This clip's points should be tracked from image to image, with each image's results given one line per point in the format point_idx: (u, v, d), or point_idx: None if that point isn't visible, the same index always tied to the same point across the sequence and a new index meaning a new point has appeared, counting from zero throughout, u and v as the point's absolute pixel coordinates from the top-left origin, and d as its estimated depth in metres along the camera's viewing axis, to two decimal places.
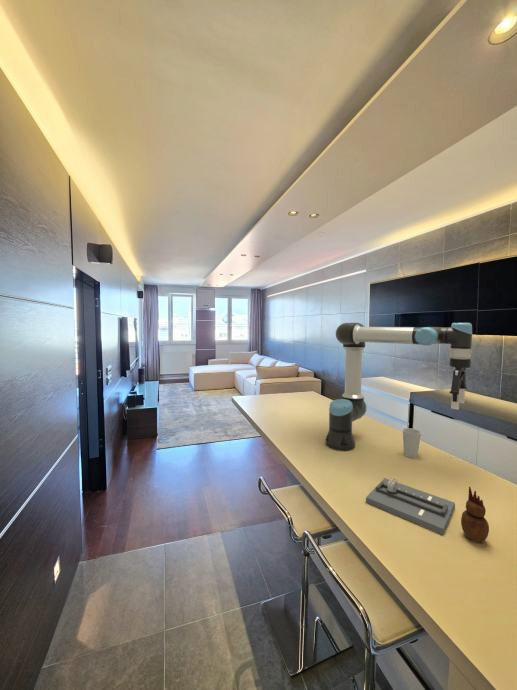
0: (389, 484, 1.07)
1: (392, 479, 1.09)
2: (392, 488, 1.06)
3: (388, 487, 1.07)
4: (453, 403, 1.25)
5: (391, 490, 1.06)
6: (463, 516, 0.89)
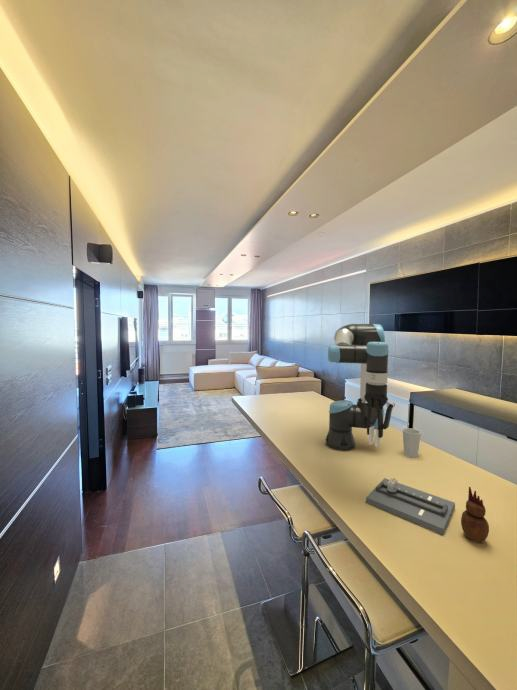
0: (389, 484, 1.07)
1: (392, 479, 1.09)
2: (392, 488, 1.06)
3: (388, 487, 1.07)
4: None
5: (391, 490, 1.06)
6: (463, 516, 0.89)
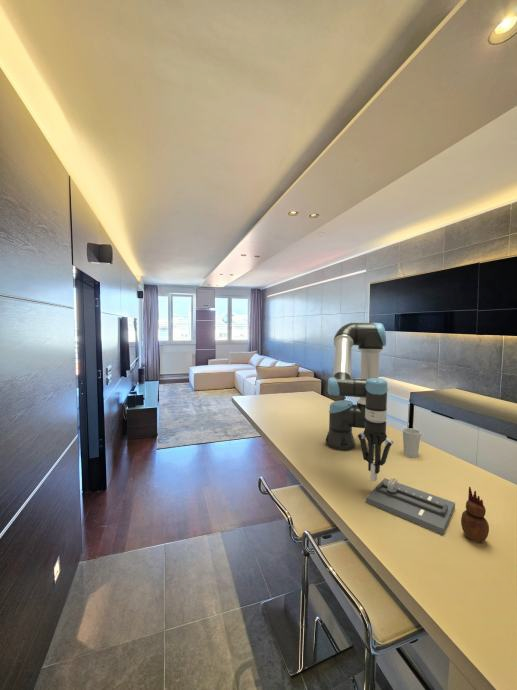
0: (389, 484, 1.07)
1: (392, 479, 1.09)
2: (392, 488, 1.06)
3: (388, 487, 1.07)
4: None
5: (391, 490, 1.06)
6: (463, 516, 0.89)
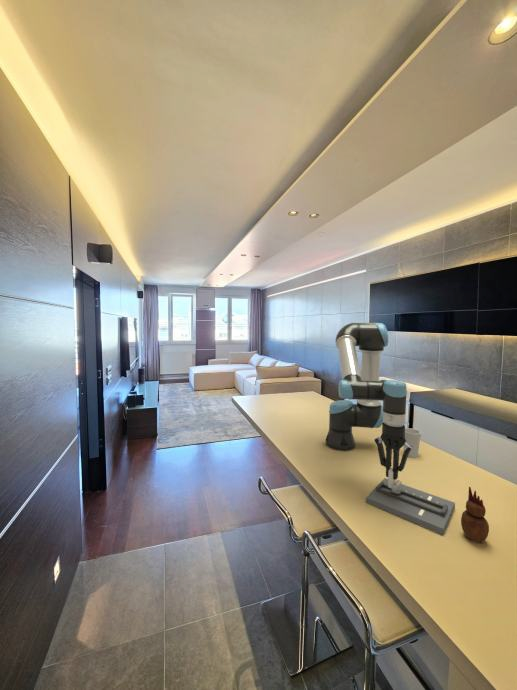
0: (393, 486, 1.06)
1: (396, 480, 1.08)
2: (396, 490, 1.05)
3: (392, 489, 1.06)
4: None
5: (395, 492, 1.05)
6: (463, 516, 0.89)
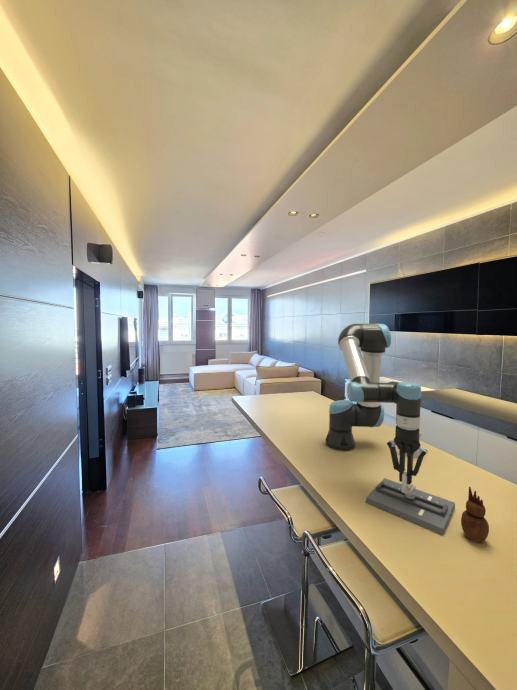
0: (407, 491, 1.02)
1: (410, 485, 1.05)
2: (410, 495, 1.02)
3: (406, 494, 1.03)
4: None
5: (409, 497, 1.02)
6: (463, 516, 0.89)
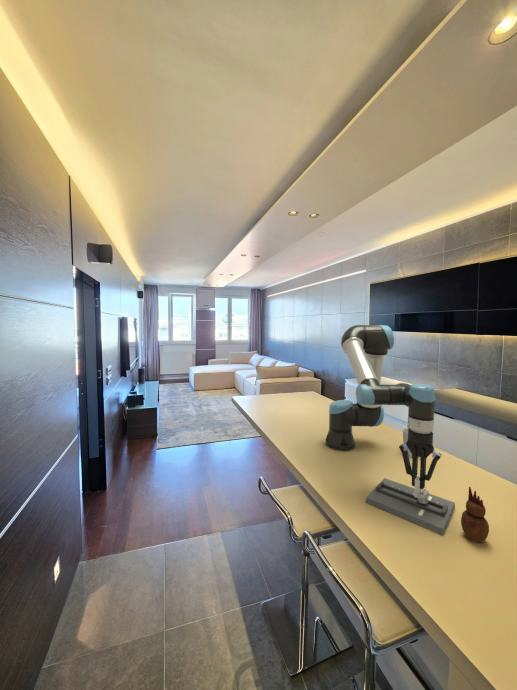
0: (420, 495, 1.00)
1: (423, 490, 1.02)
2: (424, 500, 0.99)
3: (419, 498, 1.00)
4: None
5: (422, 502, 0.99)
6: (463, 516, 0.89)
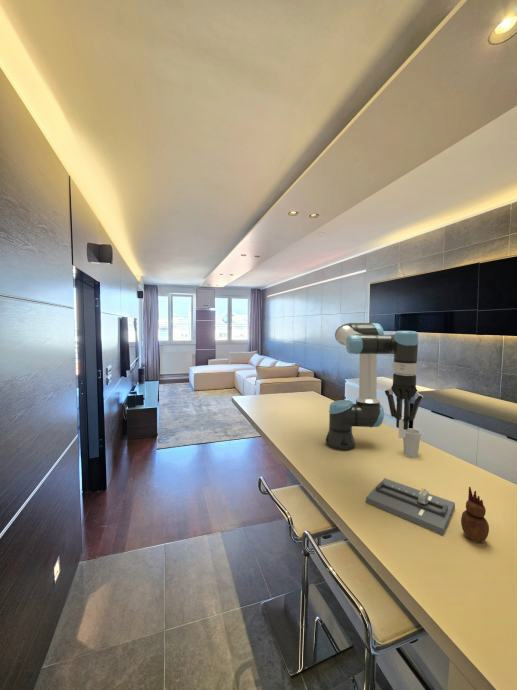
0: (420, 495, 1.00)
1: (423, 490, 1.02)
2: (424, 500, 0.99)
3: (419, 498, 1.00)
4: None
5: (422, 502, 0.99)
6: (463, 516, 0.89)
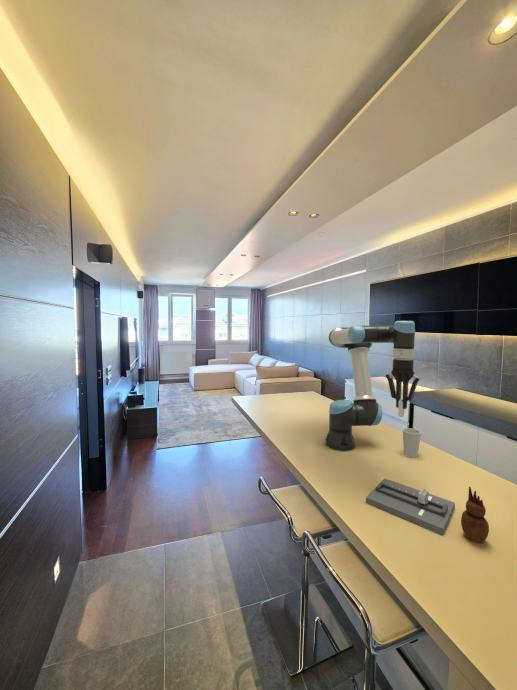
0: (420, 495, 1.00)
1: (423, 490, 1.02)
2: (424, 500, 0.99)
3: (419, 498, 1.00)
4: None
5: (422, 502, 0.99)
6: (463, 516, 0.89)
